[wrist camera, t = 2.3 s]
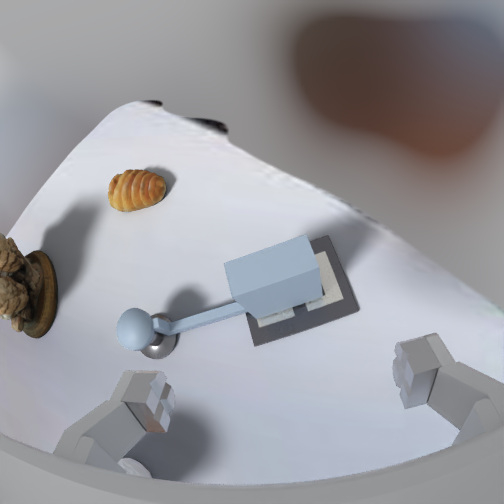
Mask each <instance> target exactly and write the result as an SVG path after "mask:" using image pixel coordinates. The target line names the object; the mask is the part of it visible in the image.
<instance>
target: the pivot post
mask: <svg viewBox="0 0 504 504" xmlns="http://www.w3.org/2000/svg"><path fill="white" fill-rule="evenodd" d="M157 317H158V318H160V319H162V320H164V321H167V322H169V323H170V322H172V321H171V320H170V319H168V318H166V317H164V316H162V315H152V316H151V318H152V319H154V318H157ZM176 340H177V334H173V335H169V336H168V335H165V334H162V333H159V332H157V331H154V335H153V338H152V340H151V342H150V344H149V345H148V346H147V347H145V348H144V349H142V350H140V351H141V352H142V353H143V354H144V355H145V356H147V357H149V358H152V359H162V358H164V357H166V356H168V355H169V354H170V353H171V352H172V350H173V349H174V347H175V344H176Z"/></svg>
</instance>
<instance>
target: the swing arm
mask: <svg viewBox="0 0 504 504" xmlns="http://www.w3.org/2000/svg"><path fill="white" fill-rule="evenodd" d="M224 267H225V271H226V275H227V279H228V283H229V287H230V291H231V296H232V298H233V299H234V300H235V301H237V302H234V303H231V304H228V305H225V306H222V307H219V308H216V309H212V310H209V311H206V312H203V313H200V314H197V315H193V316H190V317H187V318H184V319H180V320H177V321H174V322H170V323H169V322H167V321H164V320H162V319H160V318H158V317H157V318H154V319H152V318H151V316H150V315H149V314H148V313H147V312H145V311H143V310H141V309H138V308H132V309H129V310H127V311H125V312H124V313H123V314H122V315H121V317H120V319H119V321H118V324H117V330H116V331H117V338H118V340H119V342H120V344H121V345H122V346H123V347H125V348H127V349H130V350H134V351H139V350H142V349H144V348H145V347H147V346H148V345H149V344H150V342H151V340H152V338H153V335H154V331H157V332H159V333H162V334H165V335H168V336H169V335H173V334H177V333H180V332H184V331H187V330H190V329H194V328H197V327H201V326H204V325H207V324H211V323H214V322H217V321H220V320H224V319H227V318H230V317H233V316H237V315H240V314H243V313H246V312H249V313H250V314H251V315H252V316H253V317H255V318H256V319H258V318H261V317H264V316H267V315H270V314H274V313H277V312H280V311H283V310H286V309H289V308H291V307H294V306H297V305H300V304H303V303H306V302H309V301H312V300H315V299H317V298H320V297H323V294H322V285H321V277H320V269H319V265H318V263H317V260H316V257H315V255H314V252H313V250H312V247H311V245H310V242H309V240H308V237H307V235H306V234H305V235H303V236H300V237H297V238H294V239H291V240H288V241H286V242H283V243H280V244H277V245H274V246H272V247H269V248H266V249H263V250H260V251H257V252H255V253H252V254H249V255H246V256H243V257H240V258H238V259H235V260H232V261H229V262H226V263H224Z"/></svg>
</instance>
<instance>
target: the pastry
mask: <svg viewBox="0 0 504 504" xmlns="http://www.w3.org/2000/svg"><path fill="white" fill-rule="evenodd" d="M165 192H166V184H165V181H164V179H163V177H161V176H158V175H156V174H155V173H150V172H149V171H146V170H145V171H143V170H126V171H125V172H124V173H123V174H117V175H116V176H114V178H113V179H112V180H111V182H110V185H109V192H108V198H109V202H110V205H111V206H112V207H113V208H115V209H117V210H119V211H123V212H131V211H135V210H140V209H143V208H147V207H150V206H153V205H154V204H156V203H158V202H160V201H161V200H162V198H163V197H164V194H165Z"/></svg>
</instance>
